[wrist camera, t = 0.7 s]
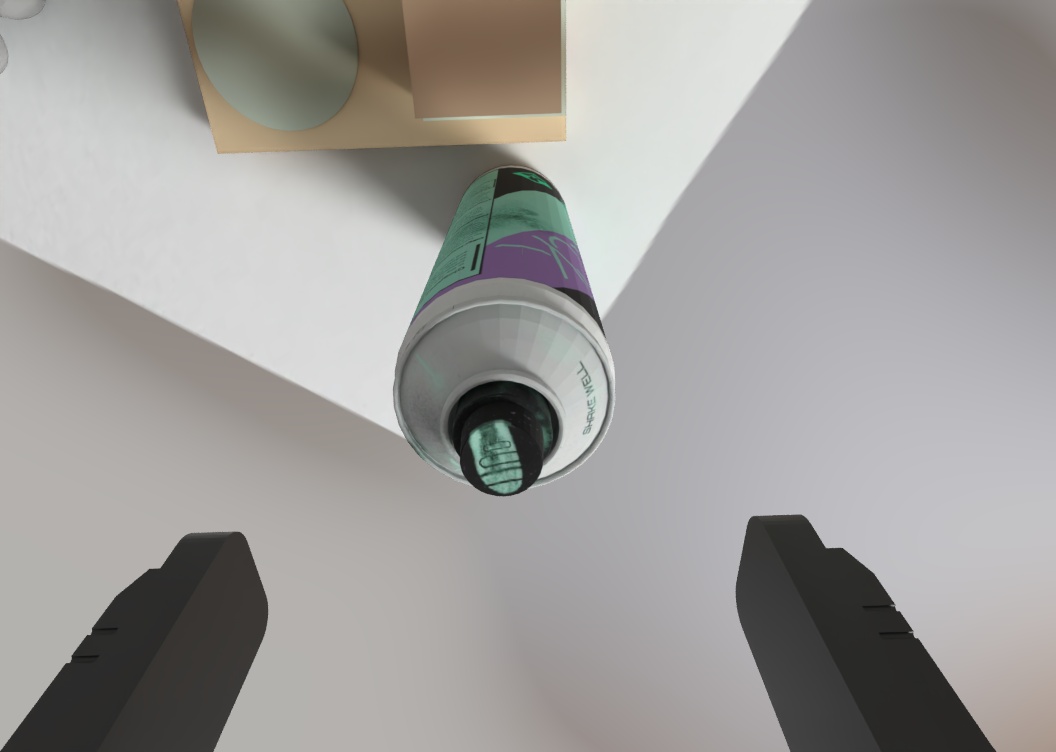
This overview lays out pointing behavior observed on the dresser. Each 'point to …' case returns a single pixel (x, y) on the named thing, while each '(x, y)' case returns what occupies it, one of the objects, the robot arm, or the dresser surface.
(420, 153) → the dresser surface
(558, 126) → the oak board
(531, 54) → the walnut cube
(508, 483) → the spray can
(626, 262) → the dresser surface
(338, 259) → the dresser surface
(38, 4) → the round bodied animal figurine
